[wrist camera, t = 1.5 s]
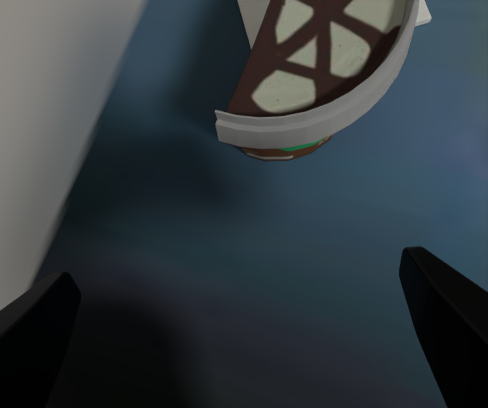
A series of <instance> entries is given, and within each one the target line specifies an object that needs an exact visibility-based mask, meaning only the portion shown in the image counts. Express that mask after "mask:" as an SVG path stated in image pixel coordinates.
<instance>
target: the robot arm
mask: <svg viewBox="0 0 488 408" xmlns="http://www.w3.org/2000/svg"><path fill="white" fill-rule="evenodd" d="M399 277H400V281H401V285H402V288H403V291H404V295H405V298H406V301H407V305H408V308H409V311H410V315H411V318H412V321H413V325H414V328H415V331H416V334H417V337H418V339H419V342H420V344H421V347H422V349H423V351H424V354H425V356H426V358H427V361H428V363H429V365H430V368H431V370H432V372H433V375H434V377H435V379H436V382H437V384H438V386H439V389H440V391H441V393H442V396H443V398H444V400H445V403H446V405H447V407H448V408H488V292H487V291H485V290H484V289H482V288H481V287H480V286H478V285H477V284H475V283H474V282H472V281H471V280H469V279H468V278H467V277H465V276H464V275H462V274H461V273H459V272H458V271H457V270H455V269H454V268H452V267H451V266H449V265H448V264H446V263H445V262H444V261H442V260H441V259H439V258H438V257H436V256H435V255H433V254H432V253H431V252H429V251H428V250H426V249H425V248H423V247H420V246H416V247H406V248H404V249H403V252H402V257H401V262H400V268H399ZM80 301H81V293H80V290H79V288H78V286H77V285H76V283H75V281H74V280H73V278H72V276H71V275H70V274H69V273H68V272H56V273H52V274H50V275H49V276H47V277H46V278H45V279H43V280H42V281H40V282H39V283H38V284H36V285H35V286H34V287H32V288H31V289H29V290H28V291H27V292H25V293H24V294H23V295H21V296H20V297H19V298H17V299H16V300H14V301H13V302H12V303H10V304H9V305H7V306H6V307H5V308H3V309H2V310H0V408H45V406H46V403H47V401H48V398H49V396H50V393H51V390H52V388H53V385H54V383H55V380H56V378H57V375H58V372H59V370H60V367H61V365H62V362H63V359H64V356H65V354H66V351H67V347H68V344H69V341H70V337H71V334H72V330H73V326H74V323H75V319H76V315H77V312H78V308H79V304H80Z"/></svg>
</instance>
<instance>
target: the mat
mask: <svg viewBox="0 0 488 408" xmlns="http://www.w3.org/2000/svg"><path fill="white" fill-rule="evenodd" d="M237 1H238V5H239V8H240V12H241V15H242V19H243V22H244V26H245V30H246V33H247V37H248V40H249V44H250V47H251V49H252V47H253V44H254V42H255V39H256V37H257V34H258V31H259V29H260V26H261V24H262V21H263V18H264V15H265V13H266V10H267V7H268V5H269V2H270V0H237ZM430 20H431V15H430V13H429V11H428V8H427V6H426V3H425V1H424V0H419V9H418V15H417V19H416V23H415V26H419V25H422V24H425V23H429V22H430Z"/></svg>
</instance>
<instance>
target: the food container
mask: <svg viewBox="0 0 488 408" xmlns="http://www.w3.org/2000/svg"><path fill="white" fill-rule="evenodd" d="M418 9H419V0H270V2H269V5H268V7H267V10H266V13H265V15H264V18H263V21H262V24H261V26H260V29H259V31H258V34H257V37H256V39H255V42H254V44H253V47H252V49H251V52H250V55H249V57H248V59H247V62H246V64H245V67H244V69H243V72H242V74H241V76H240V79H239V81H238V84H237V86H236V88H235V91H234V93H233V96H232V98H231V101H230V103H229V106H228V108H227V111H226V112H222V111H218V110H215V114H216V116H217V121H216V124H215V125H216V130H217V135H218V139H219V141H221V142H225V143H228V144H232V145H236V146H240V147H241V148H242V149H243V151H244V152H245V153H246V154H247V156H248V157H252V158H256V159H260V160H263V161H289V160H292V159H295V158H298V157H301V156H305V155H308V154H311V153H312V152H313V151H315V150H316V149H318V148H319V147H320V146H322V145H323V144H325V143H326V142H327V141H329V140H330V138H331V137H332V136H333V134H334V133H335V132H337V131H339V130H341V129H343V128H345V127H347V126H349V125H350V124H352V123H353V122H354V121H356V120H357V119H358V118H360V117H361V116H362V115H364V114H365V113H366V112H368V111H369V110H370V109H371V108H372V107H373V106H374V105H375V103H376V102H377V101H378V100H379V99H380V98H381V97H382V96H383V95H384V94H385V93H386V91H387V90H388V88H389V87H390V85H391V84H392V83H393V81H394V80H395V78H396V77H397V75H398V73H399V71H400V69H401V67H402V65H403V62H404V60H405V58H406V56H407V53H408V49H409V45H410V42H411V38H412V34H413V31H414V27H415V23H416V19H417V15H418Z"/></svg>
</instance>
